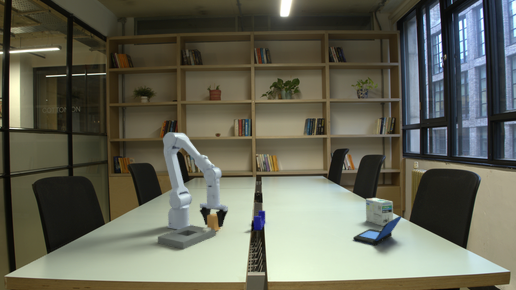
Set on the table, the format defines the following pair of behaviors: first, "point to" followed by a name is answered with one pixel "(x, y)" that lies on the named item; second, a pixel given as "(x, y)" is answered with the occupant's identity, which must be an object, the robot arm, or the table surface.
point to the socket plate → (186, 236)
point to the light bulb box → (379, 211)
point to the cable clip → (259, 220)
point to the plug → (212, 221)
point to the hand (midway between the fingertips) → (213, 225)
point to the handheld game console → (377, 233)
